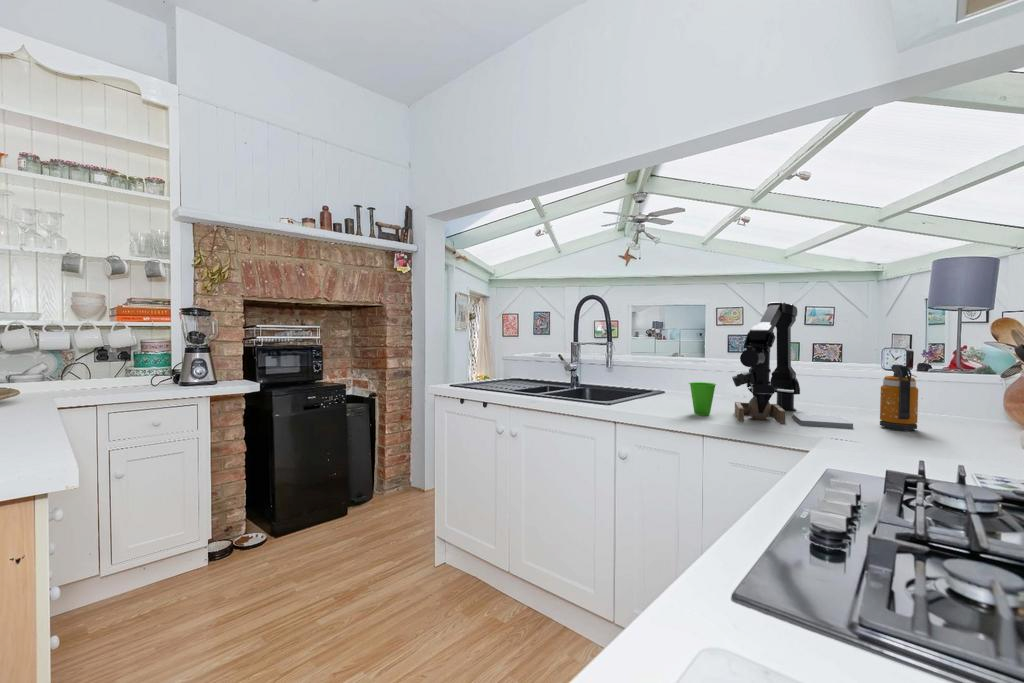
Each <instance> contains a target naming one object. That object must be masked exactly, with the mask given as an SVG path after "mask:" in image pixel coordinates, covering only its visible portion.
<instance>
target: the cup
mask: <svg viewBox="0 0 1024 683" xmlns="http://www.w3.org/2000/svg"><path fill="white" fill-rule="evenodd" d="M688 384H689V387H690V393H691V399H692V407H693V412H694V414H695V415H697V416H710V414H711V411H712V404H713V401H714V394H715V389H716V386H717V384H716V383H714V382H705V381H704V382H703V381H700V382H699V381H693V382H688Z"/></svg>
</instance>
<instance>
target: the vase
mask: <svg viewBox="0 0 1024 683" xmlns="http://www.w3.org/2000/svg"><path fill="white" fill-rule="evenodd" d="M748 403H749V404H748V412H749V414H748V416H750V417H751V418H752V419H753V420H759V421H760V420H762V421H763V420H767V419H768V418H769V417H770V416H769V415H770V412H771V406H770V404H771V403H770V401H769V402H768V404H767V406H766V407H765V409H764V411H763V413H759V411H758V405H757V399H756V397H755V396H754V397H753V396H752V397H751V398H750V400H749V401H748Z"/></svg>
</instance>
